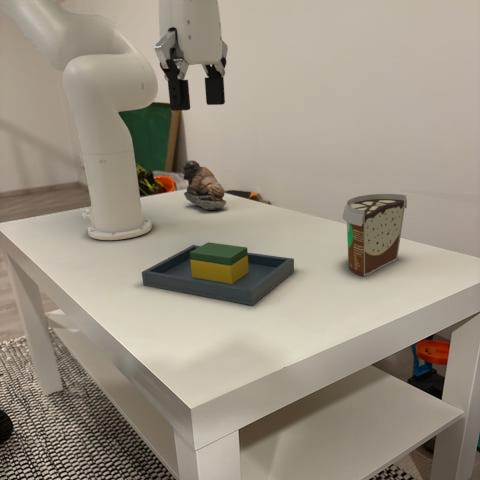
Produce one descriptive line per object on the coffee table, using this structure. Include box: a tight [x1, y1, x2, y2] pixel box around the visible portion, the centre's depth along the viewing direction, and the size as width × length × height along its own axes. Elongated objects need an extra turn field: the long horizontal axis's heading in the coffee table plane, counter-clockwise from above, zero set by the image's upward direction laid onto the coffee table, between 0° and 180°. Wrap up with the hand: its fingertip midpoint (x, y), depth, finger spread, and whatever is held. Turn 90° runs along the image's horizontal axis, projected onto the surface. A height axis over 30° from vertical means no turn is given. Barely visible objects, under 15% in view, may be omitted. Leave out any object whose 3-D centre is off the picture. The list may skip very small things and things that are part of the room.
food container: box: [342, 193, 408, 278], centre depth 78 cm, size 12×6×10 cm, turn 134°
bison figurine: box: [182, 160, 227, 211], centre depth 115 cm, size 12×7×10 cm, turn 39°
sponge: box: [190, 241, 249, 284], centre depth 76 cm, size 7×5×4 cm
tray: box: [141, 244, 295, 306], centre depth 77 cm, size 19×14×2 cm
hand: (198, 107), depth 78 cm, fingers open, 9 cm apart
